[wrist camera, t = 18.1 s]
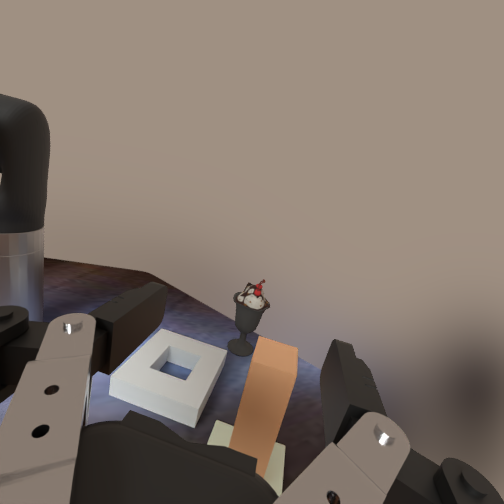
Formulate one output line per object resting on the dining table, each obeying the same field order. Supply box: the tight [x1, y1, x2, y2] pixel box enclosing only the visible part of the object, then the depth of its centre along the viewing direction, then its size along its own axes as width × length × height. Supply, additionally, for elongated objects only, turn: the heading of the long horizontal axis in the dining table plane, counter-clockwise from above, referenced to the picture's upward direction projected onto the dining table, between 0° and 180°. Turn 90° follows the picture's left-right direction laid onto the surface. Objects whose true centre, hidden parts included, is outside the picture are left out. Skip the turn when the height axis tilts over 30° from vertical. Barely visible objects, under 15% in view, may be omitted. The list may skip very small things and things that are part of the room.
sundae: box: [228, 280, 270, 356], centre depth 47 cm, size 7×7×15 cm
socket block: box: [109, 329, 227, 428], centre depth 38 cm, size 12×12×3 cm
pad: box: [207, 420, 285, 496], centre depth 28 cm, size 9×9×1 cm
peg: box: [228, 336, 298, 478], centre depth 26 cm, size 4×4×15 cm
